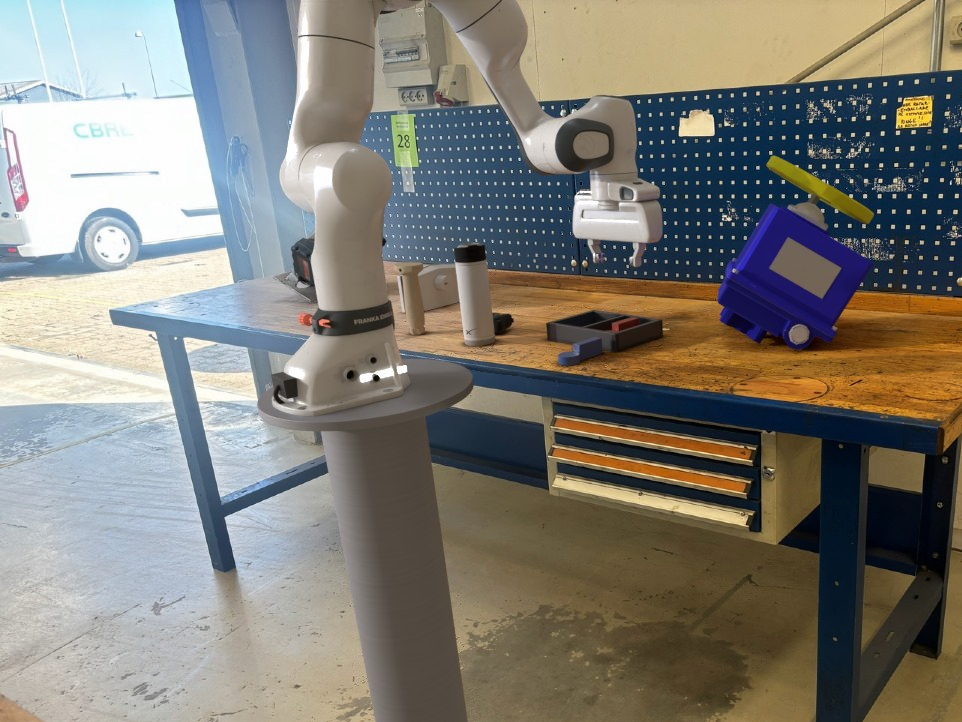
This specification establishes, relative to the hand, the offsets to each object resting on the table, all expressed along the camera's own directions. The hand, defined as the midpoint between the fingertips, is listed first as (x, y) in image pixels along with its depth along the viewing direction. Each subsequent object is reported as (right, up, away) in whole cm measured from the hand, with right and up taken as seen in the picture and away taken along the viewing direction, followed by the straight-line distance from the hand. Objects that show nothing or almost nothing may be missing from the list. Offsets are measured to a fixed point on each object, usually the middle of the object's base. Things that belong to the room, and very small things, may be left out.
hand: (617, 264), depth 163 cm
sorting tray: (-2, -13, +9) cm, 16 cm away
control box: (+35, -13, +4) cm, 37 cm away
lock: (-44, 0, +50) cm, 66 cm away
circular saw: (-76, +8, +73) cm, 106 cm away
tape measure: (-25, -11, +19) cm, 33 cm away
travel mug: (-28, -14, +11) cm, 33 cm away
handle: (-43, -10, +22) cm, 49 cm away
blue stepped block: (-7, -19, -5) cm, 21 cm away
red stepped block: (+1, -13, +5) cm, 14 cm away
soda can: (-37, +8, +68) cm, 78 cm away
